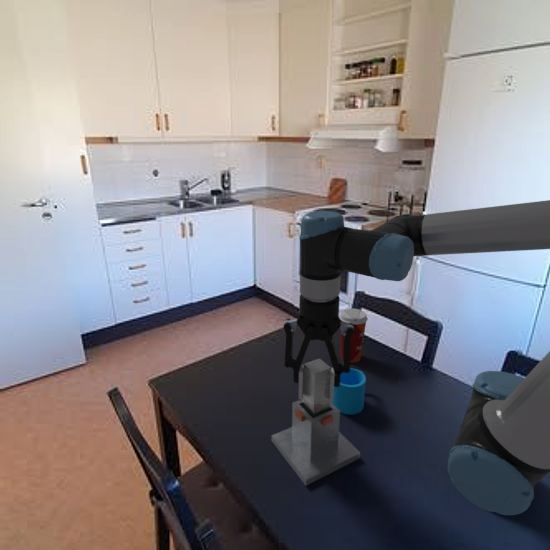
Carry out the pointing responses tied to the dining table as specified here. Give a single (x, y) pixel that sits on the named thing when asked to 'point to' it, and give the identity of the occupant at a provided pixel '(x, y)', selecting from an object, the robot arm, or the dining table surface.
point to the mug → (350, 392)
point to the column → (316, 387)
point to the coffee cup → (356, 341)
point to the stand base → (314, 444)
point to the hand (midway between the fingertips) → (316, 396)
